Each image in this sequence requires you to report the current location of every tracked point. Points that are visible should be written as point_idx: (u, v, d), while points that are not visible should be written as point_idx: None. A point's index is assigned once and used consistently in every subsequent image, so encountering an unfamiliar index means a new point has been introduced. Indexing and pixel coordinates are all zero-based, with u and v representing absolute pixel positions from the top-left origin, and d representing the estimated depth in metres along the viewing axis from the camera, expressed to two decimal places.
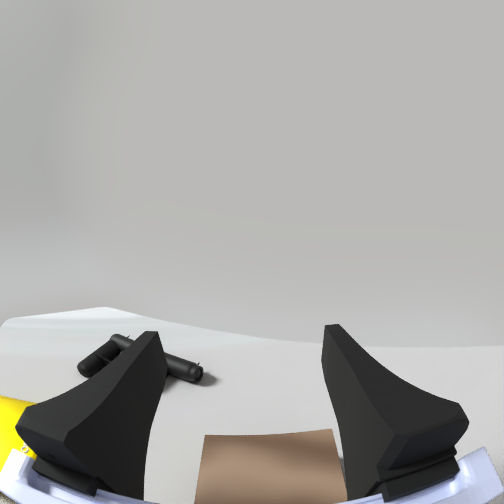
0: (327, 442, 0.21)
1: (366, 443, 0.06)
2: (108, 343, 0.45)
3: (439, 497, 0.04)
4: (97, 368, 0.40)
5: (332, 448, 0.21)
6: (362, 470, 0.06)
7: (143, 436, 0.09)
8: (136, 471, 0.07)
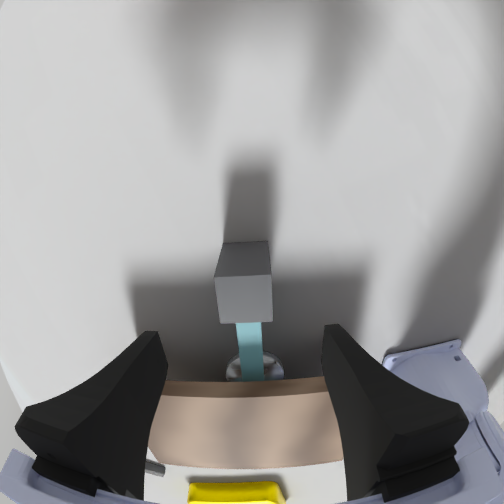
0: None
1: (366, 443, 0.06)
2: None
3: (439, 497, 0.04)
4: None
5: None
6: (362, 470, 0.06)
7: (143, 436, 0.09)
8: (136, 471, 0.07)
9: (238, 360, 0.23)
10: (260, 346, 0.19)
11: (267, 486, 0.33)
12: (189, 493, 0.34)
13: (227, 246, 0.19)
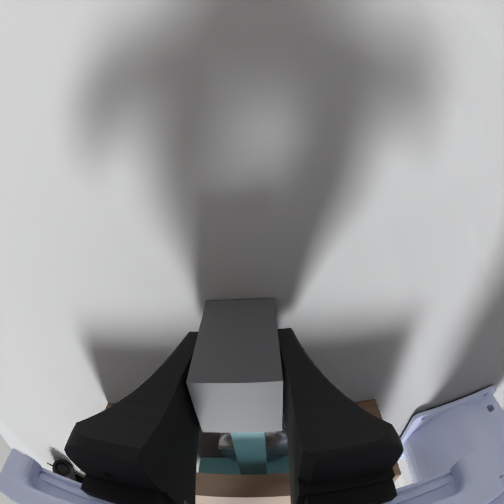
0: None
1: (294, 454, 0.06)
2: None
3: (439, 497, 0.04)
4: None
5: None
6: (294, 481, 0.06)
7: (194, 441, 0.09)
8: (190, 479, 0.07)
9: None
10: (262, 438, 0.12)
11: None
12: None
13: (212, 309, 0.12)
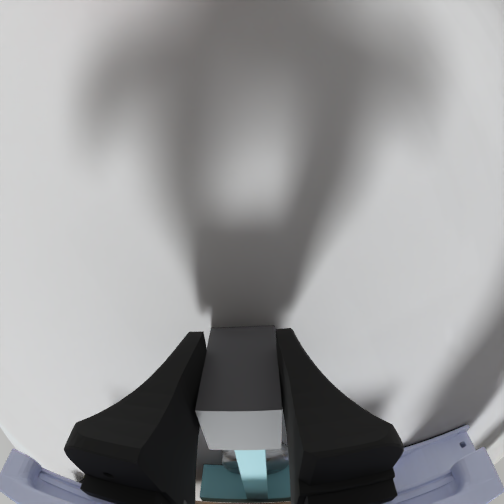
0: None
1: (295, 454, 0.06)
2: None
3: (439, 497, 0.04)
4: None
5: None
6: (294, 481, 0.06)
7: (194, 441, 0.09)
8: (190, 479, 0.07)
9: None
10: (263, 452, 0.13)
11: None
12: None
13: (217, 337, 0.13)
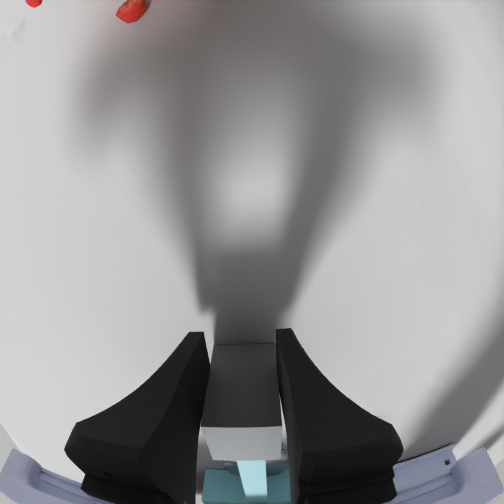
0: None
1: (294, 454, 0.06)
2: None
3: (439, 497, 0.04)
4: None
5: None
6: (294, 481, 0.06)
7: (194, 441, 0.09)
8: (190, 479, 0.07)
9: None
10: (263, 460, 0.13)
11: None
12: None
13: (219, 354, 0.13)
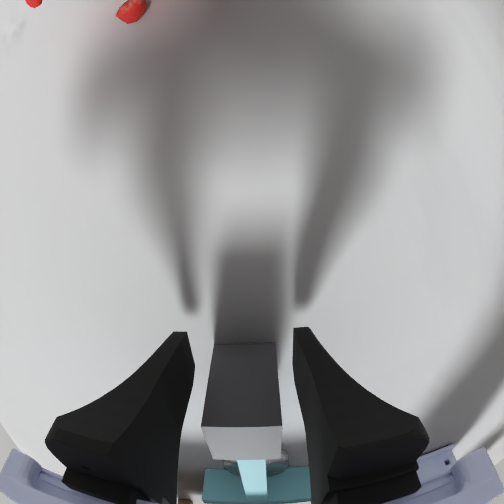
0: None
1: (321, 451, 0.06)
2: None
3: (439, 497, 0.04)
4: None
5: None
6: (319, 478, 0.06)
7: (175, 440, 0.09)
8: (170, 477, 0.07)
9: None
10: None
11: None
12: None
13: (220, 353, 0.13)
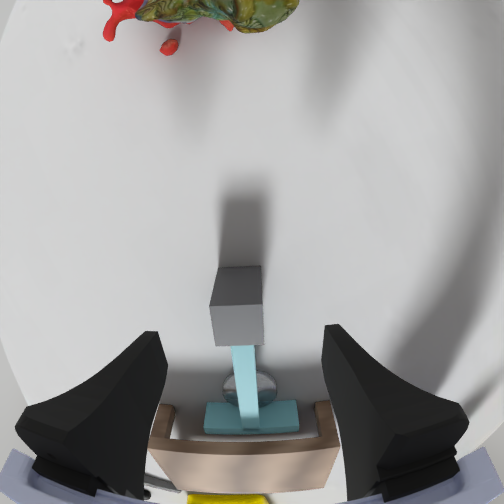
0: (165, 453, 0.22)
1: (366, 443, 0.06)
2: None
3: (439, 497, 0.04)
4: None
5: (172, 453, 0.22)
6: (362, 470, 0.06)
7: (143, 436, 0.09)
8: (136, 471, 0.07)
9: None
10: (253, 363, 0.20)
11: (255, 498, 0.37)
12: (187, 503, 0.37)
13: (222, 272, 0.20)
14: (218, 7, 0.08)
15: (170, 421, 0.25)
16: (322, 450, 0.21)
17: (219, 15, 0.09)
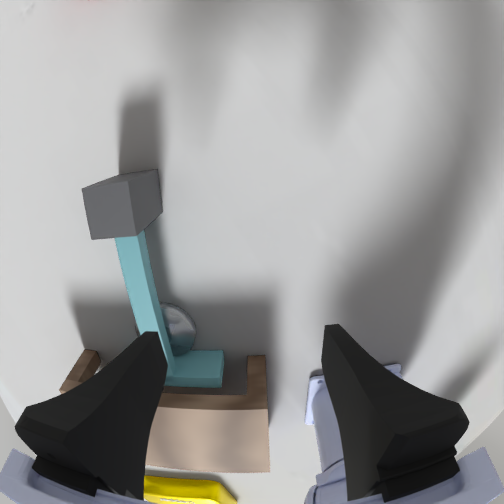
0: None
1: (366, 443, 0.06)
2: None
3: (439, 497, 0.04)
4: None
5: None
6: (362, 470, 0.06)
7: (143, 436, 0.09)
8: (136, 471, 0.07)
9: None
10: (143, 276, 0.17)
11: (209, 485, 0.34)
12: None
13: (118, 175, 0.18)
14: None
15: (90, 367, 0.23)
16: (245, 412, 0.19)
17: None
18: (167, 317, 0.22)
